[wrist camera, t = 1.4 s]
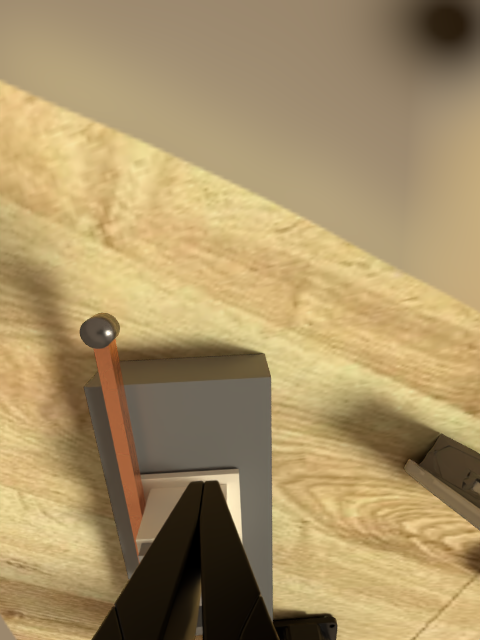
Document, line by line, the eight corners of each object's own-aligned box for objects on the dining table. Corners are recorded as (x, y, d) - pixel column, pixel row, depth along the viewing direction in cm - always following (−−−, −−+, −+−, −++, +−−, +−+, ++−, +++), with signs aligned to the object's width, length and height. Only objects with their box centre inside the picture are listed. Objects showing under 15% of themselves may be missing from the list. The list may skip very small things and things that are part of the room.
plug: (241, 510, 21) (245, 614, 16) (158, 516, 21) (133, 623, 16) (237, 443, 20) (241, 534, 14) (147, 449, 19) (113, 542, 14)
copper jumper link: (171, 588, 20) (167, 610, 18) (141, 590, 20) (135, 613, 18) (124, 311, 14) (114, 319, 12) (80, 313, 14) (67, 321, 12)
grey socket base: (267, 584, 26) (274, 642, 22) (152, 592, 25) (139, 653, 22) (264, 353, 19) (272, 384, 15) (106, 362, 18) (76, 395, 15)
